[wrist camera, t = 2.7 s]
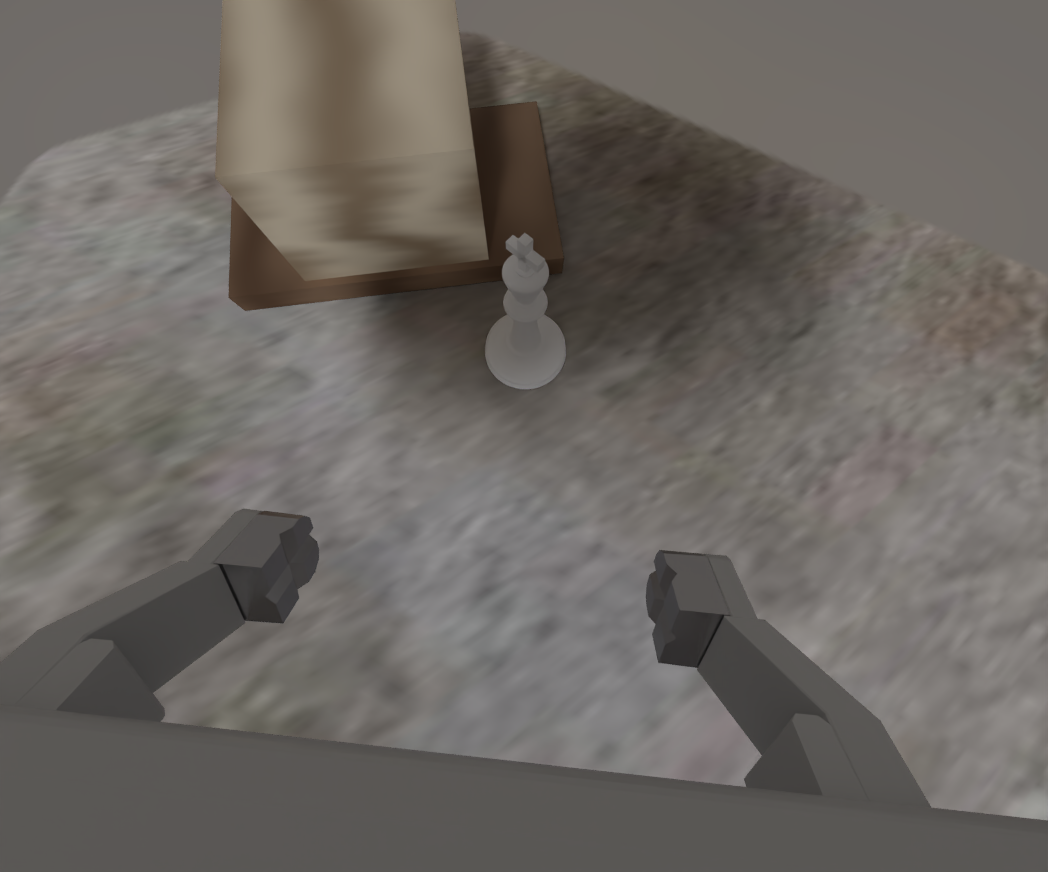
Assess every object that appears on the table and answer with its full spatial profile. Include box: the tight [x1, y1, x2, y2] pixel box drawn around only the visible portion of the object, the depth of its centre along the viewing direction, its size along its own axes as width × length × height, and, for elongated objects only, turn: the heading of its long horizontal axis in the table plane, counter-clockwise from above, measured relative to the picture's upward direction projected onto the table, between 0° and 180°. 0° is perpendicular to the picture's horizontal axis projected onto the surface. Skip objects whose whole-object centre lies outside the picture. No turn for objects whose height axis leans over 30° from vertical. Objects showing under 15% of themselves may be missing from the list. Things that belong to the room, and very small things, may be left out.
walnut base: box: [215, 0, 564, 311], centre depth 24 cm, size 20×12×9 cm, turn 98°
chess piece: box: [485, 233, 566, 389], centre depth 21 cm, size 5×5×10 cm
